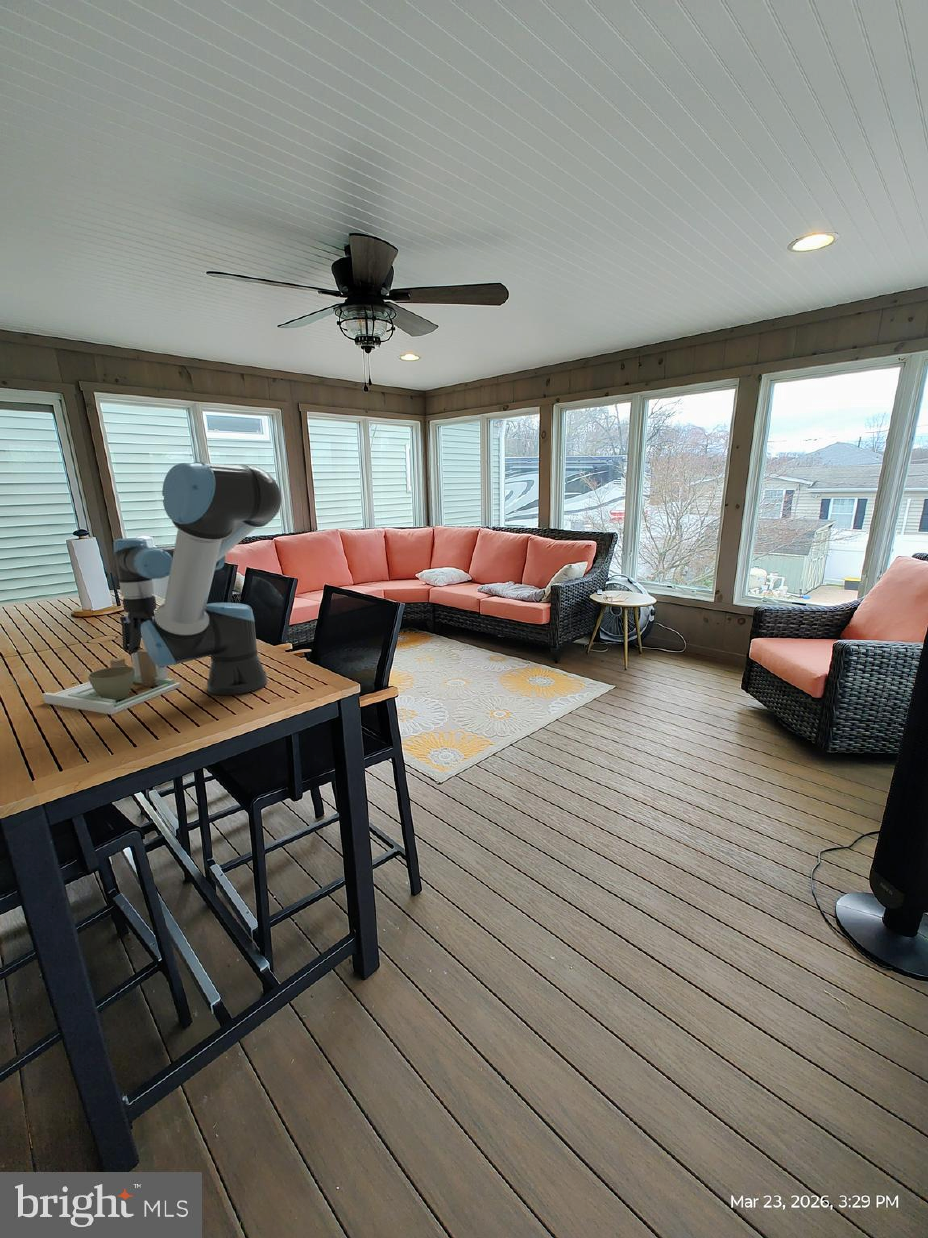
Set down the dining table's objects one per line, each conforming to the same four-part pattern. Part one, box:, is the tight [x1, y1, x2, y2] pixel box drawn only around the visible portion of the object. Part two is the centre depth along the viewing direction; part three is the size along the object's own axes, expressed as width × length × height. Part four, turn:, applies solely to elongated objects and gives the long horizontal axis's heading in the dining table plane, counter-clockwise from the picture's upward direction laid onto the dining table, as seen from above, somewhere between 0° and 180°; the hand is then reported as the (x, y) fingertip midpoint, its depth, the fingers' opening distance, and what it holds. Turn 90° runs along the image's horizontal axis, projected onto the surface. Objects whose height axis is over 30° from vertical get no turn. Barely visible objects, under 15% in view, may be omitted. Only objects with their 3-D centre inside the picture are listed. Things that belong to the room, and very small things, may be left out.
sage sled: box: [68, 648, 175, 707], centre depth 134 cm, size 15×19×10 cm
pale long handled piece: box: [59, 657, 127, 696], centre depth 138 cm, size 4×19×6 cm, turn 161°
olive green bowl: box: [87, 665, 135, 702], centre depth 131 cm, size 10×10×7 cm
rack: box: [42, 681, 182, 715], centre depth 134 cm, size 26×20×2 cm
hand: (151, 676), depth 141 cm, fingers closed on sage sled, 8 cm apart
